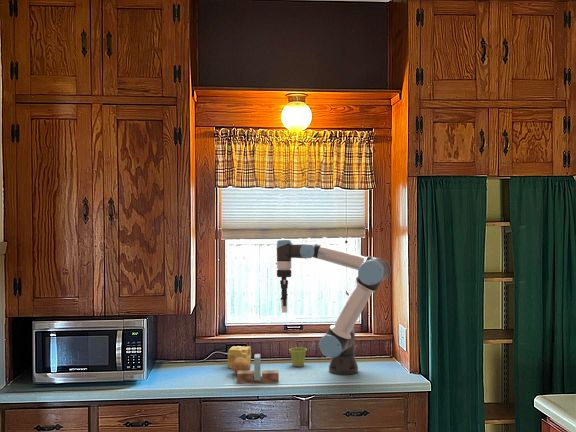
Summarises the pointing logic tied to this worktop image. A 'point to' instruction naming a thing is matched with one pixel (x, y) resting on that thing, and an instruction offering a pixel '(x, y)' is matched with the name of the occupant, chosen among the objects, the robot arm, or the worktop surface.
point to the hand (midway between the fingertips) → (284, 310)
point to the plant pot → (298, 356)
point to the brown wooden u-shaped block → (267, 377)
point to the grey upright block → (257, 367)
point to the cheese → (238, 354)
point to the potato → (240, 365)
